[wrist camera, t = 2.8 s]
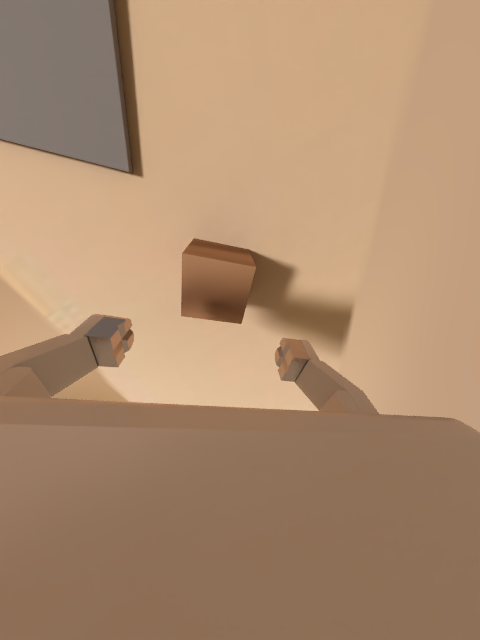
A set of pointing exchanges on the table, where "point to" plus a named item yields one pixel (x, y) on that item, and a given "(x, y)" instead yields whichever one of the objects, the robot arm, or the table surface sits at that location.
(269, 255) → the table surface
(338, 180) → the table surface
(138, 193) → the table surface
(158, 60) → the table surface
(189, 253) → the walnut cube
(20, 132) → the slate pad
